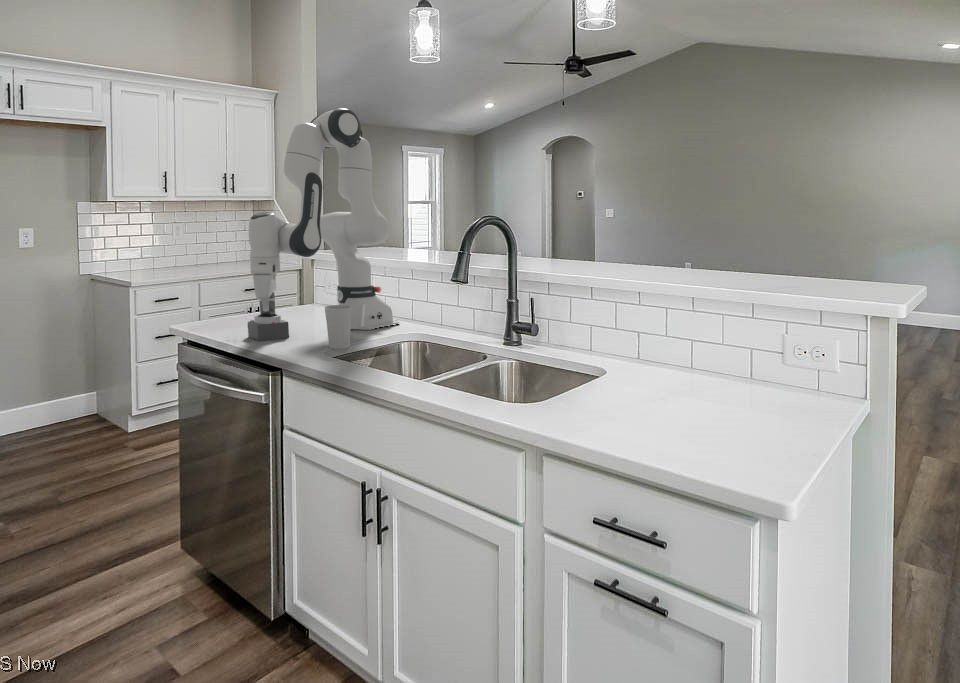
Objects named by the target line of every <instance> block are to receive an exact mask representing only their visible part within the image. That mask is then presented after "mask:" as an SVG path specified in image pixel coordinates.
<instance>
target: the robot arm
mask: <svg viewBox="0 0 960 683" xmlns="http://www.w3.org/2000/svg"><path fill="white" fill-rule="evenodd" d="M361 128H362V126H361V121H360V120H359V116H358V115H357V114H356V113H355V112H354V111H353V110H350V109H348V108H344V107H343V108H336V109H332V110H329V111H326V112H324V113H322V114H321V115H320V114H319V115H318V116H315V117H314V118H313V119H312V120H311V121H310V122H300V123H298V124H296V125H295V126H294V128H293V129H292V132H291V134H290V137H289V139H288V144H287V147H286V150H285V151H286V152H285V157H284V161H283V172H284V175H285V177H286V178H287V180H288V181H289V182H290V183H291V184H292V185H293V186H295V187H297V189H298V190H299V191H300V194H301V195H300V196H301V204H300V215H299V221H298V222H297V223H291V222H288V221H286V220H284V219H282V218H280V217H278V216H277V215H276V214H275V213H274V212H270V211H269V212H267V211H266V212H259V213H256V214H253V215H252V216H251V217H250V219H249V221H248V243H249V246H250V253H249V264H250V265H249V266H250V274H251V275H252V278H253V279H252V280H253V285H254V286H253V287H254V294H255V296H256V297H255V298H256V299H257V300H259V299H261V301H262V305H263V311H269V297H270V296H271V295H272V293H273V292H274V293H275V292H277V279H276V278H277V272H280V271H281V259H280V253H281V254H282V253H283V254H288V255H295V256H300V257H303V258H309V257H312V256H314V255H315V254H316V253H317V252H318V251H319V249H320V248H321V246H322V245H321V244H322V241H324V242H325V243H326V245H328V246H329V247H328V248H330V249H331V252H332V254H333V256H334V258H335V261H336V265H337V266H336V267H337V278H338V279H337V281H338V285H337V288H336V289H337V291H336V292H337V301H338V304H337V305H348V306H352V317H351V330H365V331H366V330H367V331H369V330H371V331H372V330H375V328H377V329H380V328H379V327H383V328H385V327H384V326H388V327H390V326H389V325H393V324H398V323H399V324H400V320H398V319H395V318H394V315H393V311H392V307H391V306H390V305H389V304H387V303H386V302H384V301H383V299H381V298H380V297H378V296H377V294H376V293H381V292H382V287H381V286H377V285H376V286H374V285H372V270H371V268H372V267H371V263H370V261H369V260H368V259H367V258H366V257H364V256H363V255H361V253H360V252H359V249H358V248H357V246H370V247H371V246H376V245H381V244H384V243H385V242H386V241H387V240H388V238H389V236H390V230H391V228H390V224H389V221H388V219H387V218H386V216H384V215H383V214H382V213H381V211H380V210H379V209H378V207H377V206H376V203H375V200H374V198H373V197H374V196H373V186H372V185H373V182H372V181H373V179H372V178H373V159H372V150H371V145H370V143H369V140H367V139H366V138H364V137H363V131H362V129H361ZM329 148H335V150H336V151H337V155H338V179H337V180H338V183H337V192H338V194H339V195H340V196H341V197H342V199H344V200H346V201H348V203H349V204H350V209H351V211H333V212H330V213H329V212H328V213H325V214H323V215H322V214H321V212H322V202H323V201H322V200H323V199H322V198H323V182H322V179H321V176H320V172H321V165H322V158H323V153H324V151H325V149H329Z"/></svg>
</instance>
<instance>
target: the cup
mask: <svg viewBox="0 0 960 683" xmlns="http://www.w3.org/2000/svg"><path fill="white" fill-rule="evenodd" d="M324 313H325V320H326V330H327V339H328V348H329V347H330V348H329V349H332V348H335V349H334V350H338V349H339V350H343V349H344V350H345V349H349V348H350V347H351V330H352V329H351V317H352V306H348V305H338V304H335V305H331V304H330V305H326V306H324Z"/></svg>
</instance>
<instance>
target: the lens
mask: <svg viewBox="0 0 960 683" xmlns="http://www.w3.org/2000/svg"><path fill="white" fill-rule="evenodd" d="M275 296H276V295H275V292H273V293H272V295H271V296H270V297H269V311H263V305H262V301H261V299H258V301H259V314H260V317H274V316H276V314H277V313H276V297H275Z"/></svg>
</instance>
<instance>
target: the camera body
mask: <svg viewBox="0 0 960 683" xmlns="http://www.w3.org/2000/svg"><path fill="white" fill-rule="evenodd" d="M253 318H254V319H249V321H247V332H248V333H247V334H248V338H249V337H250V339H252V338H253V339H252V340H254V339H255V341H258V342H263V341H271V340H272V341H273V340H279V339H287V337H288V338H290V331H289V330H290V329H289V328H290V327H289V326H290V325H289V322H288V321H286V320H284V319H282V315H281V313H276V316H274V317H260V313H259V314H255V315H254V317H253Z"/></svg>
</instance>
